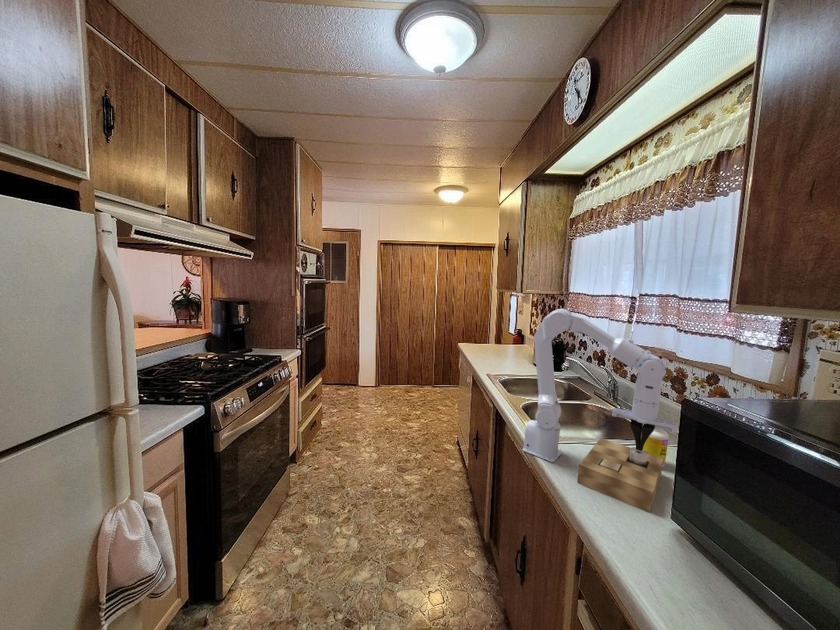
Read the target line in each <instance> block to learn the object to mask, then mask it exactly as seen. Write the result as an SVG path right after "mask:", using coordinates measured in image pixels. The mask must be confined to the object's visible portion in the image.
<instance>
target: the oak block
mask: <svg viewBox="0 0 840 630" xmlns="http://www.w3.org/2000/svg"><path fill="white" fill-rule="evenodd" d="M630 448H631V446H626V445H623V444H620V443H618V442H614V441H611V440H607V439H605V438H599V439H598V440H597V442H596V443H595V444H594V445H593V447H592V448H591V449H590V450H589V452H588V453H587V454H586V456H585V457H584V458H583V459H582V461H581V462H580V463H579V466H578V473H577V482H576V483H577V484H580V485H582V486H585V487H587V488H590V489H592V490H594V491H597V492H599V493H601V494H604V495H607V496H609V497H611V498H614V499H616V500H618V501H621V502H624V503H627V504H629V505H630V506H633V507H635V508H637V509H640V510H643V511H646V512H647V513H651V512H652V507H653V505H654V500H655V497H656V494H657V490H658V486H659V482H660V480H661V479H660V478H661V475H662V469H663V467H662V463H663V458H661V457H658V456H655V455H652V454H649V453H648V457H647V464H646V468H644V467H641V466H638V465H635V464H632V463H629V455H630ZM603 459H606V460H608V461H611V462H614V463H617V464H620V465H621V466H620V471H619V472H616V471H613V470H610V469H608V468H605V467H602V466H600V464H601V462H602V461H603Z"/></svg>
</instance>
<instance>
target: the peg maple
mask: <svg viewBox="0 0 840 630" xmlns="http://www.w3.org/2000/svg"><path fill="white" fill-rule="evenodd" d="M600 466H602V467H605V468H608V469H610V470H613V471H616V472H619V471H620V466H621V465H620V464H617V463H614V462H611V461H608V460H606V459H603V461H602V462H601V464H600Z"/></svg>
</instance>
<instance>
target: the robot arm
mask: <svg viewBox="0 0 840 630" xmlns="http://www.w3.org/2000/svg"><path fill="white" fill-rule="evenodd" d="M569 328H570V331H569V332H571V333H582V334H584V335H586V336H588V337H590V338H591V339H593V340H595V341H596V342H598V343H599V344H601V345H603V346H605V347H606V348H608V351H609V355H610V356H612V357H613V358H615V359H617V360H618V361H619V362H622V363H623V364H624V365H626V366H627V367H629V368H631V369H634V370H637V375H636V376H637V377H636V380H635V384H634V391H633V398H632V408H631V410H630V409H629V410H628V409H624V408H623V409H622V408H617V407H613V408H612V411H611V416H612V417H614V418H618V417H619V418H622V419H625V420H629V421H630V423H629V426H630V429H631V431H632V433H633V437H634V442H635V447H636V450H639V451H642V450H643V447H644V444H645V442H646V440H647V439H648V437H649V436H650V435H651V433H652V432H653V431H654V429H655V427H658V428H661V429H665V430H666V431H668V432H669V431H670V432H671V433H673V434H677V433H678V426H679V423H675V422H671V421H669V420H667V419H663V418H661V417H658V415H659V414H658V413H659V406H660V400H661V394H662V393H661V392H662V382H663V378H665V376H666V373H667V370H666V366H665V364H664V362H663V361H662V360H661V359H660V357H658V356H656V354H654V353H652V352H651V350H648V349H647V350H645V349H644V348H642V347H640V346H638V345H637V344H635V343H634V340H633V339H631V338H626V337H618V338H616V337H614V336H613V335H611V334H609V333H608V332H606V331H605V330H603V329H602V328H600V327H599V326H597V325H595V324H594V323H593V322H592V321H590V320H588V319H586V318H584V317H583V316H581V315H579V314H577V313H575V312H571V311H570V310H568V309H565V308H558V309H555V310H553V311H551V312H550V313H548V315H546V316H545V317H543V319H542V322H541V323H540V325H539V327H538V328H537V330H536V331H535V333H534V336H533V341H534V354H535V355H534V356H535V365H536V366H535V368H536V375H537V377H536V379H537V389H538V399H537V411H536V412H535V419H530V420H528V422H527V423H526V427H525V430H524V431H525V432H524V438H523V439H524V440H523V441H524V442H523V448H522V451H523V452H525V453H527V454H529V455H532V456H535V457H538V458H540V459H543V460H546V461H548V462H550V463H555V462H556V460H558V458H559V457H560V456H561V455H562V454H563V451H561V450H559V445H560V444H559V441H560V434H561V424H560V423H559V421H560V420H559V419H560V417H561V415H562V413H563V412H562V411H563V410H562V407H561V405H560V403H559V401H558V400H559V399H558V395H557V393H556V380H555V369H554V358H553V357H554V356H553V347H552V345H553V344H552V342H553V340H554V339H555V338H556V337H557V336H558V335H559V334H562V333H564V332H565V331H567V330H568V329H569ZM641 433H642V435H641Z"/></svg>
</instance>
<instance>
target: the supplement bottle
mask: <svg viewBox="0 0 840 630" xmlns="http://www.w3.org/2000/svg"><path fill="white" fill-rule="evenodd" d="M641 435H642V433H641ZM669 437H670V436H669V434H668V432H666V431H665V429H661V428H658V427H655V429H654V431H653V432H652V433H651V435H650V436H649V437H648V439H647V440H646V442H645V444H644V447H643V450H645V451H647V452H648V453H649V454H652V455H655V456H658V457H661V458H663V463H662V468H664V467H665V465H666V458H667V452H668V451H667V450H668V445H669Z"/></svg>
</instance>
